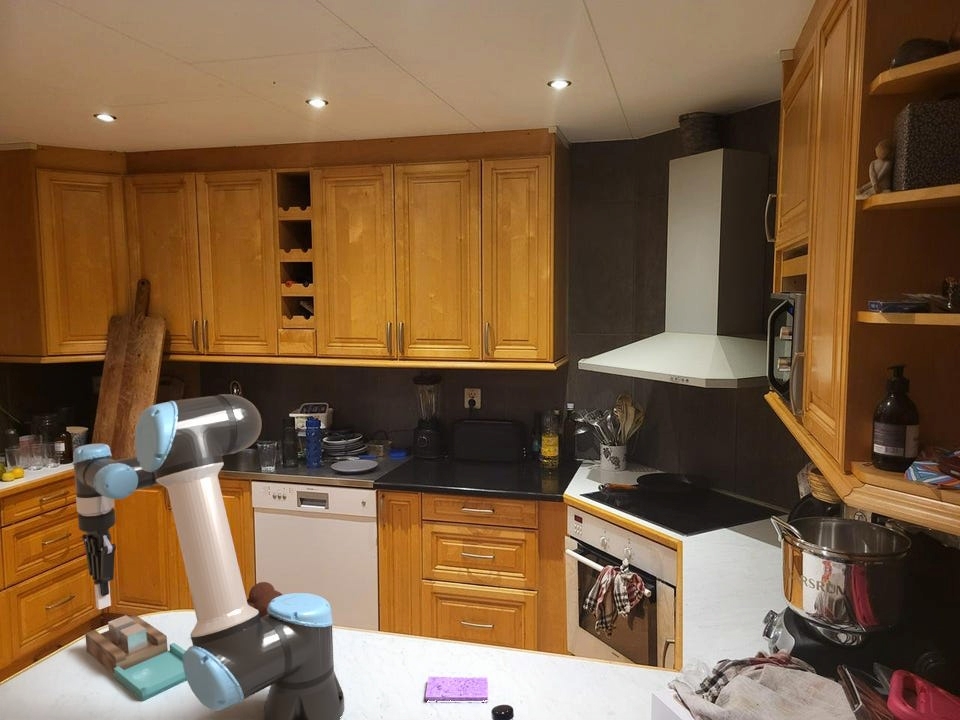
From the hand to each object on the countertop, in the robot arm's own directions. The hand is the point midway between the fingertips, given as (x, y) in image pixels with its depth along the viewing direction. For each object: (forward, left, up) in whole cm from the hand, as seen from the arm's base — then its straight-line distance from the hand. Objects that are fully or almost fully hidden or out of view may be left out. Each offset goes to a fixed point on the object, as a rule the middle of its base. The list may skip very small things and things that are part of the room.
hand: (103, 606), depth 159 cm
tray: (-26, 0, -8) cm, 27 cm away
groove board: (-11, 0, -8) cm, 14 cm away
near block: (-15, 0, -5) cm, 16 cm away
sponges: (-80, -36, -8) cm, 88 cm away
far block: (-9, 0, -5) cm, 10 cm away
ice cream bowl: (-34, -21, -8) cm, 41 cm away
